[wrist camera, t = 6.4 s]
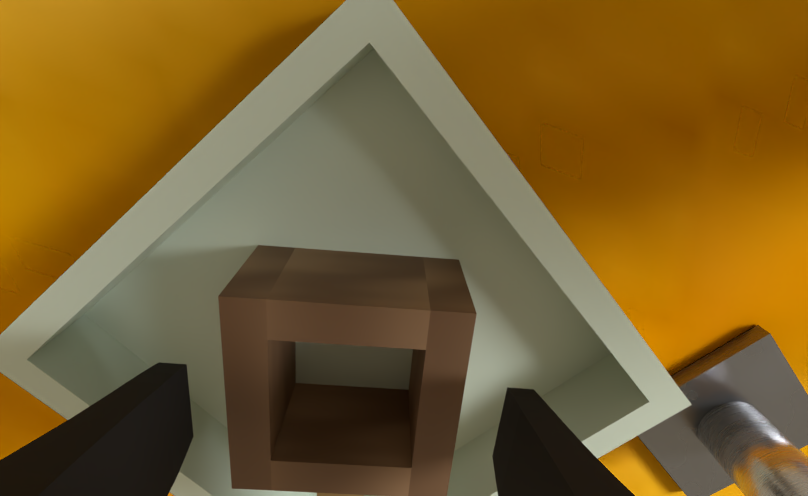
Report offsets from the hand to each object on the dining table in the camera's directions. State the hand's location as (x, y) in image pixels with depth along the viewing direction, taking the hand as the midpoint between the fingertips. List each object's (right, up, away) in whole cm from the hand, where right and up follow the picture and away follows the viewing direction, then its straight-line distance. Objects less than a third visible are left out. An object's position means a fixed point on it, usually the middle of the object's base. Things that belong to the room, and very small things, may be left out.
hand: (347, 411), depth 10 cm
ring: (0, +1, +3) cm, 3 cm away
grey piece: (+12, -2, +5) cm, 13 cm away
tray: (0, +1, +4) cm, 4 cm away
